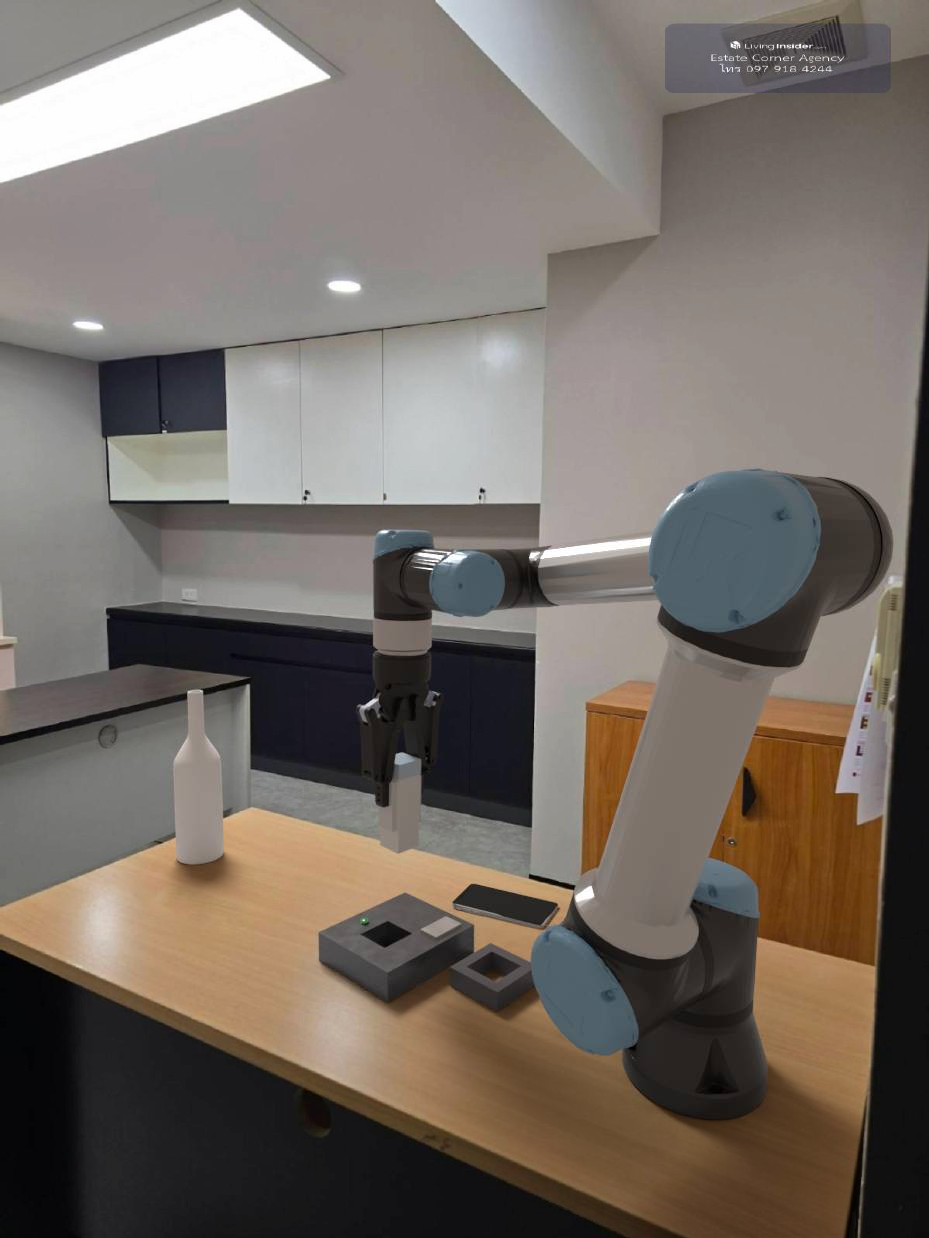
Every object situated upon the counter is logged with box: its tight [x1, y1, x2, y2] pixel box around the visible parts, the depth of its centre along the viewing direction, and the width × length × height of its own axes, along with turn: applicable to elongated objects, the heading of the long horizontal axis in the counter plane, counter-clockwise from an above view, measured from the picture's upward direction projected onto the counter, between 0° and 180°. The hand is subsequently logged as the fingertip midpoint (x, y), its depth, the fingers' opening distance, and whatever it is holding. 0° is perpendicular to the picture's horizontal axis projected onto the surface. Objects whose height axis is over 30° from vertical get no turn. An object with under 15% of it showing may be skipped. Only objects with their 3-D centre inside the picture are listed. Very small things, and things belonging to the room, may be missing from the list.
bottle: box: [172, 689, 225, 866], centre depth 136 cm, size 8×8×30 cm
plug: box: [379, 752, 421, 855], centre depth 102 cm, size 4×4×12 cm
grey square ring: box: [449, 942, 535, 1012], centre depth 99 cm, size 8×8×2 cm
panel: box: [318, 892, 475, 1004], centre depth 105 cm, size 14×16×4 cm
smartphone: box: [451, 883, 559, 930], centre depth 120 cm, size 8×1×15 cm
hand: (399, 823), depth 102 cm, fingers closed on plug, 4 cm apart
